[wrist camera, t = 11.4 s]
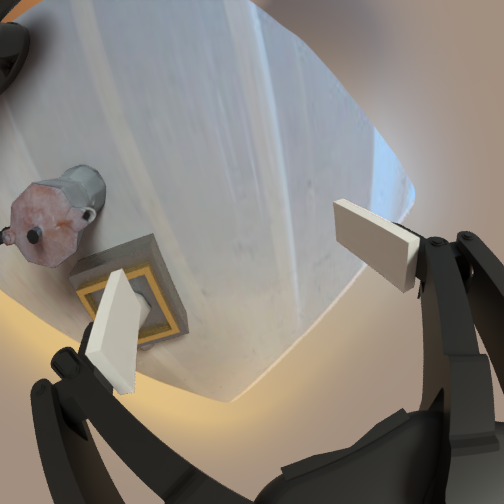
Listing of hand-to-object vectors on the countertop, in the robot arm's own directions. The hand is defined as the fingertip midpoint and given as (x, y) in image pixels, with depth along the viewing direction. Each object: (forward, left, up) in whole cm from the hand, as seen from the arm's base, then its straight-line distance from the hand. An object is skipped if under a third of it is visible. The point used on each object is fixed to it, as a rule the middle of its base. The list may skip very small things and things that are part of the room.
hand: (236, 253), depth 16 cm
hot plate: (+16, -17, -29) cm, 37 cm away
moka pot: (-4, -19, -29) cm, 35 cm away
